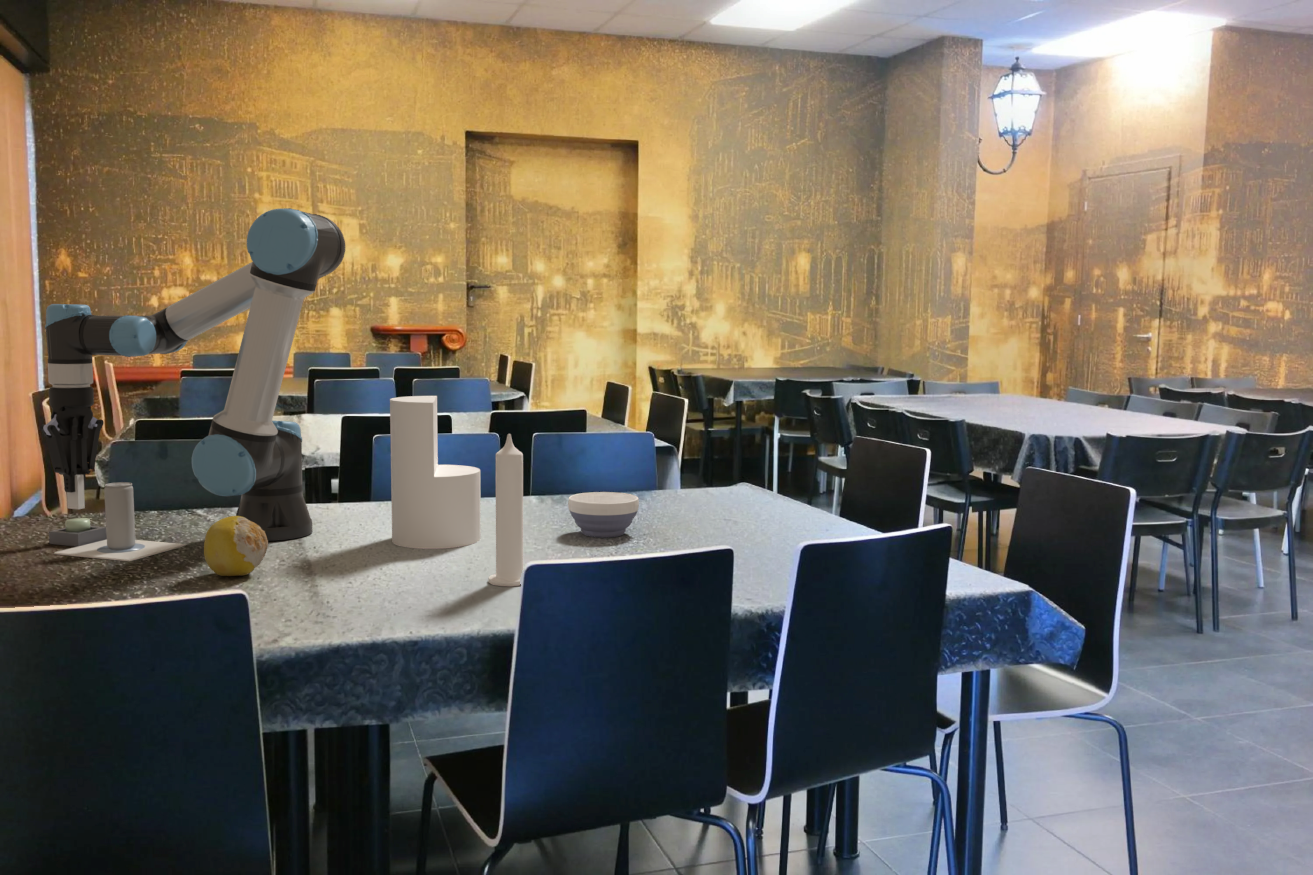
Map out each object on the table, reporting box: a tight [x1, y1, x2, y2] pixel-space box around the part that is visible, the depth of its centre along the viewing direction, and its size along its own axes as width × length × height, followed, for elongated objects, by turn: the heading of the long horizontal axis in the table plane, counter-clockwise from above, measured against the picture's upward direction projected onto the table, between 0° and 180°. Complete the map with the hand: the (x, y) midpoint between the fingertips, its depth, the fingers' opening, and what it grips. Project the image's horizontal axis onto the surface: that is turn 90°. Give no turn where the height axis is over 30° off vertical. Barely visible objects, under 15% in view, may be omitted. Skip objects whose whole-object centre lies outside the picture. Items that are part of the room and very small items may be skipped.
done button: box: [64, 517, 91, 532], centre depth 208 cm, size 4×4×2 cm
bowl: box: [567, 491, 640, 539], centre depth 221 cm, size 14×14×8 cm
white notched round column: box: [389, 395, 482, 550], centre depth 213 cm, size 17×17×28 cm
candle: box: [487, 433, 524, 587], centre depth 180 cm, size 7×7×25 cm
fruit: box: [203, 515, 269, 577], centre depth 183 cm, size 10×11×10 cm
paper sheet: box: [53, 539, 186, 562], centre depth 202 cm, size 17×14×1 cm
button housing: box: [48, 525, 107, 547], centre depth 208 cm, size 7×7×2 cm
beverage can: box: [103, 481, 136, 550], centre depth 201 cm, size 5×5×12 cm
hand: (76, 508), depth 208 cm, fingers closed
